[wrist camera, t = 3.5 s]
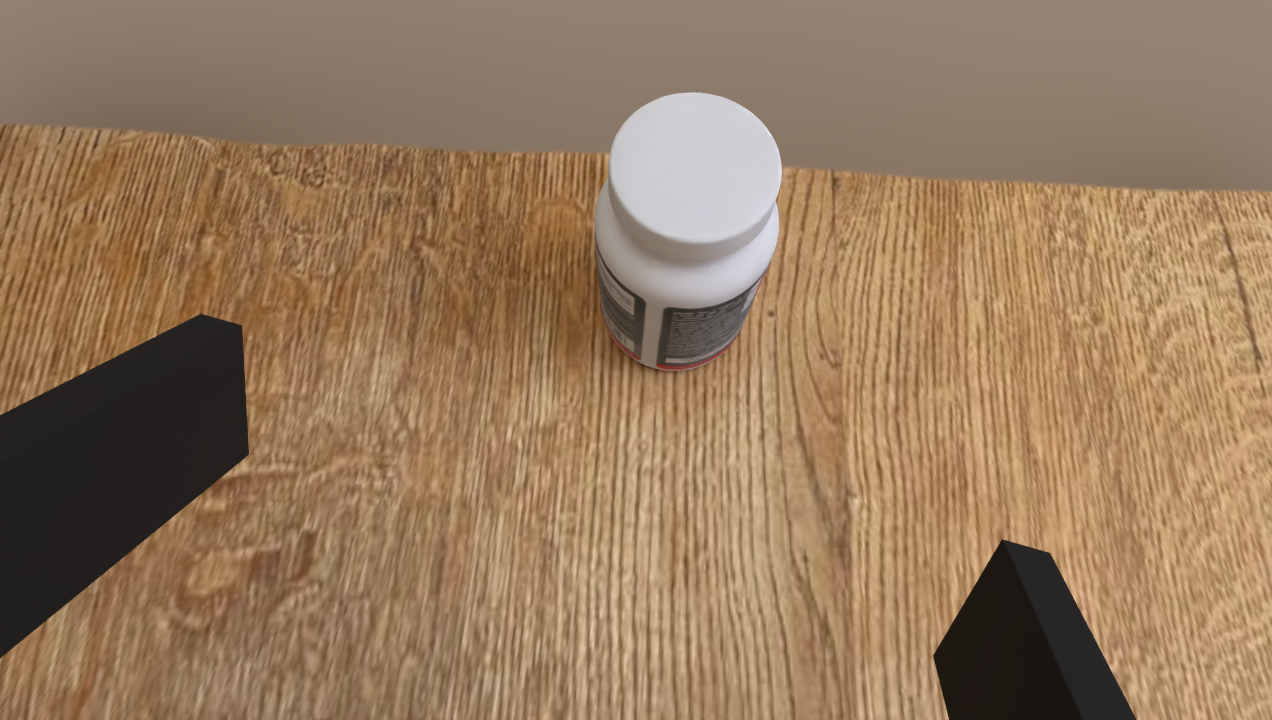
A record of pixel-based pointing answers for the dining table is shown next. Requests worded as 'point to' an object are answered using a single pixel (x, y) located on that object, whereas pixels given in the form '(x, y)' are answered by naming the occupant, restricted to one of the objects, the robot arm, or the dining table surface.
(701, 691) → the dining table surface
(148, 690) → the dining table surface
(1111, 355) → the dining table surface
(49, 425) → the robot arm
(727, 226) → the pill bottle
